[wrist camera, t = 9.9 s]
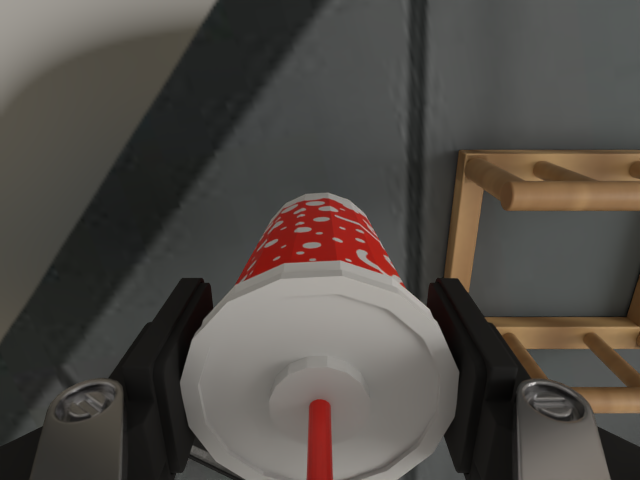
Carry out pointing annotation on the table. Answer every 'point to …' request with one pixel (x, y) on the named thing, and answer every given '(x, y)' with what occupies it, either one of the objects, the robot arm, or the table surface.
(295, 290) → the beverage cup
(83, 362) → the table surface
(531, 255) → the table surface
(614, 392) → the cup rack
